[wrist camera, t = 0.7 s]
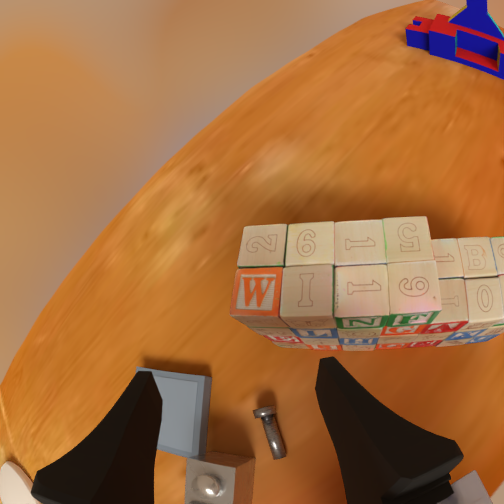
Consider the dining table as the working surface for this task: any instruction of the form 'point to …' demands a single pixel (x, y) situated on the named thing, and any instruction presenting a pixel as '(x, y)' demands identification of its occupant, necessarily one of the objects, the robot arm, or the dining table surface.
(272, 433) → the loose bolt
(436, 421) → the dining table surface
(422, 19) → the building blocks toy
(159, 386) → the stand
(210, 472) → the housing
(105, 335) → the dining table surface
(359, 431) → the robot arm
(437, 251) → the stack of blocks
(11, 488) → the decorative plate
